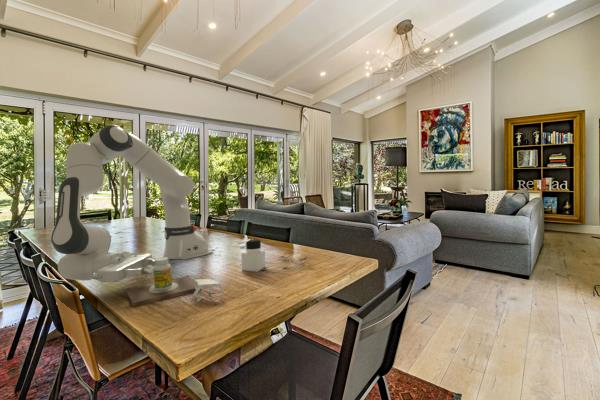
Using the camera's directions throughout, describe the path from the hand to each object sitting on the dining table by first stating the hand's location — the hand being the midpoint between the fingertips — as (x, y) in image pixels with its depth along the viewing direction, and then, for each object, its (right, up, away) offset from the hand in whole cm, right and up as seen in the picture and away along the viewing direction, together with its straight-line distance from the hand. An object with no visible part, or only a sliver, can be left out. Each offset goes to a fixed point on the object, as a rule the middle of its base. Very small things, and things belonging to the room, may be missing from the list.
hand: (150, 267), depth 101 cm
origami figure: (+21, -9, -5) cm, 23 cm away
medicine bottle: (+31, -6, +24) cm, 39 cm away
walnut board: (+4, -8, 0) cm, 9 cm away
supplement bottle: (+4, -7, 0) cm, 8 cm away
